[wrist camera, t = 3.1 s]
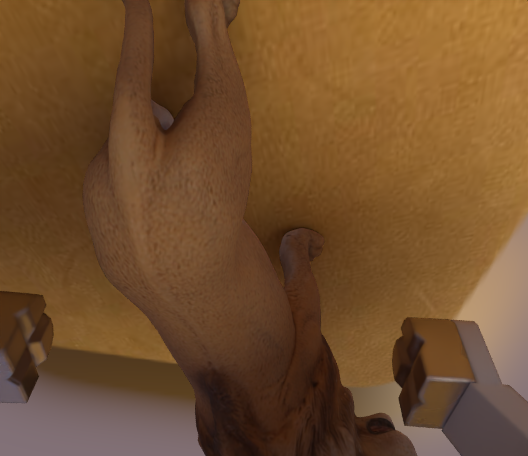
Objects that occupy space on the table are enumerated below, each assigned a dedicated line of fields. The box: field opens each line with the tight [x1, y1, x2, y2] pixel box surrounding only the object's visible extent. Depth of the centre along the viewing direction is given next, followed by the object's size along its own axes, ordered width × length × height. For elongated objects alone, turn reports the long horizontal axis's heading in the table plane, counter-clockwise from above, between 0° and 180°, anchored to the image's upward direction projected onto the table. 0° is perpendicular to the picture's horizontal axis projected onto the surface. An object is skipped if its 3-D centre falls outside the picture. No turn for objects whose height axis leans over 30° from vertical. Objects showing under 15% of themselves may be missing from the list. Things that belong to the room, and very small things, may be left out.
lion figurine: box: [83, 0, 417, 456], centre depth 11 cm, size 15×5×9 cm, turn 27°
